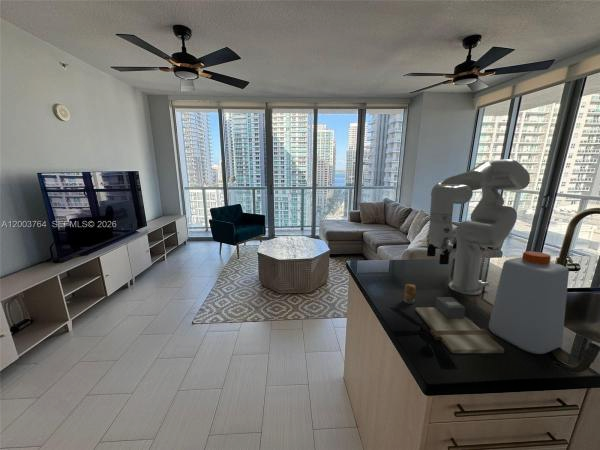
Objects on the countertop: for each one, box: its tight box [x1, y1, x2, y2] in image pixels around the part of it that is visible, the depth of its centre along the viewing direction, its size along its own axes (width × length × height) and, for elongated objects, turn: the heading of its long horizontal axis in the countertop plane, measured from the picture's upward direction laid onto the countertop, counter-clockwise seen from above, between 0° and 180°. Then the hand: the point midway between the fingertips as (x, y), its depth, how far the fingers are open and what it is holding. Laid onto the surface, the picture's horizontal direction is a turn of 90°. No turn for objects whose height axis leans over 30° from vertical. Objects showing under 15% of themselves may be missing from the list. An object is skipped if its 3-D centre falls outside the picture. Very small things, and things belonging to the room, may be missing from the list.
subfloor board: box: [415, 306, 505, 354], centre depth 84 cm, size 18×24×1 cm
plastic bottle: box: [488, 250, 570, 355], centre depth 76 cm, size 15×15×28 cm
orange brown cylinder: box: [403, 283, 417, 305], centre depth 102 cm, size 4×4×7 cm
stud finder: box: [434, 296, 466, 318], centre depth 91 cm, size 6×8×4 cm
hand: (437, 259), depth 99 cm, fingers open, 9 cm apart
